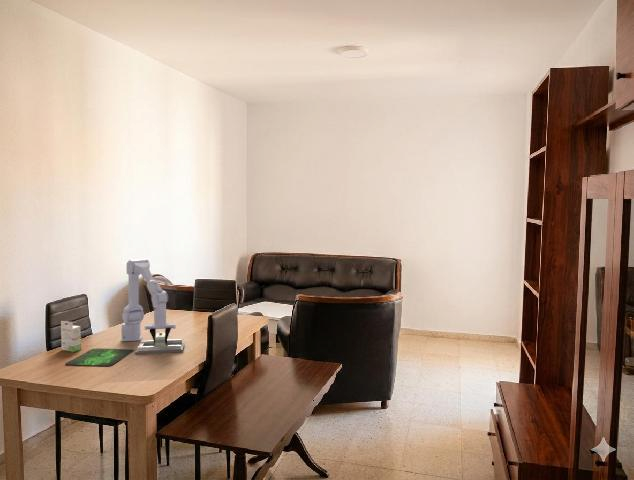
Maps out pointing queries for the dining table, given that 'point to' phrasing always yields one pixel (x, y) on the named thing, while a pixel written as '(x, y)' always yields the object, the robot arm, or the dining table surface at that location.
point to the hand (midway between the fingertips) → (160, 343)
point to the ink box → (70, 336)
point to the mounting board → (160, 350)
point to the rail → (156, 348)
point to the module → (160, 339)
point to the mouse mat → (100, 357)
